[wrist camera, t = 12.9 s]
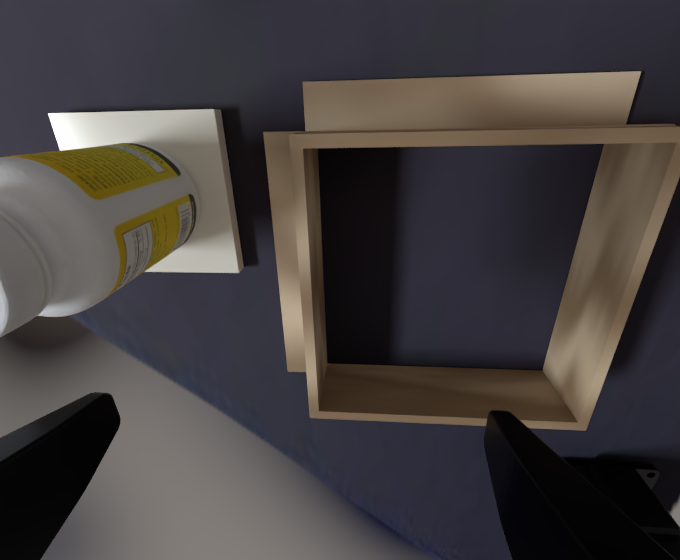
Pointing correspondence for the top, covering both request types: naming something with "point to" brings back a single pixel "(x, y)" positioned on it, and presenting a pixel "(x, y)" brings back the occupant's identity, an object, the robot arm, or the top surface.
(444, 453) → the top surface
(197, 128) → the tile
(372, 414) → the light brown piece
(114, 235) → the supplement bottle
